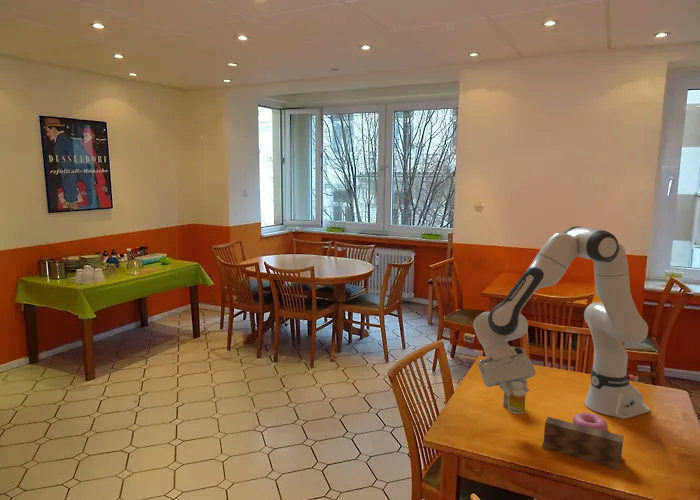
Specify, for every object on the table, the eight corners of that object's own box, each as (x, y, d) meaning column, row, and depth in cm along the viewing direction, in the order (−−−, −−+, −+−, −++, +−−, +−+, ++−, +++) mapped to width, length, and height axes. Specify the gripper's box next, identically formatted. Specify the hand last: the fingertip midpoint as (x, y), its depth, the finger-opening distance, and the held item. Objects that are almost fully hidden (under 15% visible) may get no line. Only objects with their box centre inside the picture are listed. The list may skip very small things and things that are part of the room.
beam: (542, 447, 157) (544, 424, 155) (546, 436, 164) (548, 414, 162) (619, 470, 145) (622, 445, 144) (621, 457, 152) (623, 433, 151)
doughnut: (588, 439, 162) (589, 428, 162) (565, 423, 173) (566, 412, 172) (614, 435, 165) (615, 423, 165) (590, 419, 176) (591, 408, 175)
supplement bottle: (525, 415, 162) (527, 387, 161) (508, 413, 163) (510, 386, 162) (523, 407, 167) (524, 380, 166) (507, 405, 168) (508, 379, 167)
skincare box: (503, 406, 184) (505, 375, 182) (504, 401, 188) (506, 371, 186) (520, 409, 182) (523, 378, 180) (521, 404, 186) (523, 374, 184)
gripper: (480, 357, 165) (498, 396, 157) (527, 348, 173) (546, 385, 165) (471, 364, 169) (489, 403, 162) (517, 355, 177) (536, 392, 170)
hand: (518, 393), depth 164 cm, fingers closed on supplement bottle, 5 cm apart
